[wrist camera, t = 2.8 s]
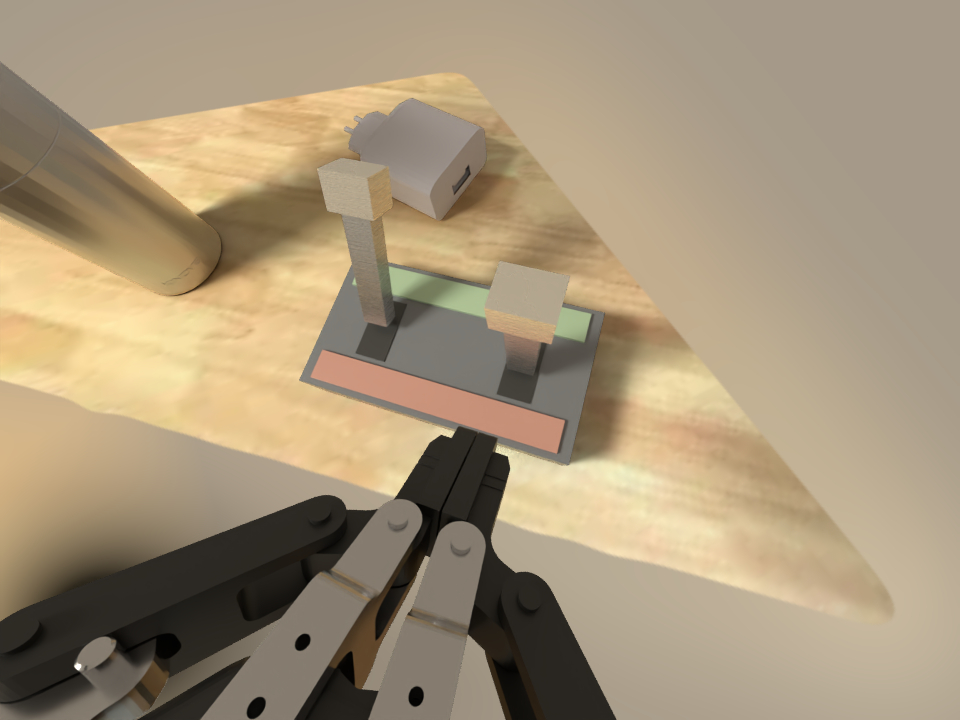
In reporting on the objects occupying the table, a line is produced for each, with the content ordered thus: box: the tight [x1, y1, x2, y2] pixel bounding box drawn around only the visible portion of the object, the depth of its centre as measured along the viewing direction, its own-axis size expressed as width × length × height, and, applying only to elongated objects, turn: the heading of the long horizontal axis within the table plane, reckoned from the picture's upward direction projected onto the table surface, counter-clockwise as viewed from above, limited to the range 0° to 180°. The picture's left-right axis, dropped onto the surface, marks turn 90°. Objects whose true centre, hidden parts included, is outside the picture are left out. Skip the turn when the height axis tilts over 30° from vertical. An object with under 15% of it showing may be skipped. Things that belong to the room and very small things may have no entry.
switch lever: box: [484, 261, 570, 376], centre depth 21 cm, size 2×3×11 cm
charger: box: [344, 98, 487, 221], centre depth 37 cm, size 5×9×15 cm
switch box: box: [299, 262, 605, 465], centre depth 30 cm, size 12×22×4 cm, turn 72°
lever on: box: [317, 158, 395, 327], centre depth 24 cm, size 2×3×11 cm
